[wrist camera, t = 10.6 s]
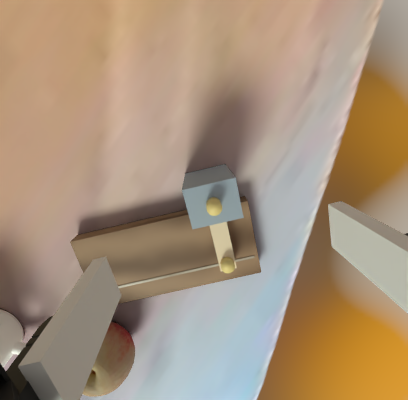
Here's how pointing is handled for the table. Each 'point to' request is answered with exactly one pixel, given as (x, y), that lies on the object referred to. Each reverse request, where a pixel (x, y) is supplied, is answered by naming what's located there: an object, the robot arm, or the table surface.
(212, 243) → the board
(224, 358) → the table surface
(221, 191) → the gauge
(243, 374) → the table surface
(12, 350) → the mug
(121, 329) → the fruit
